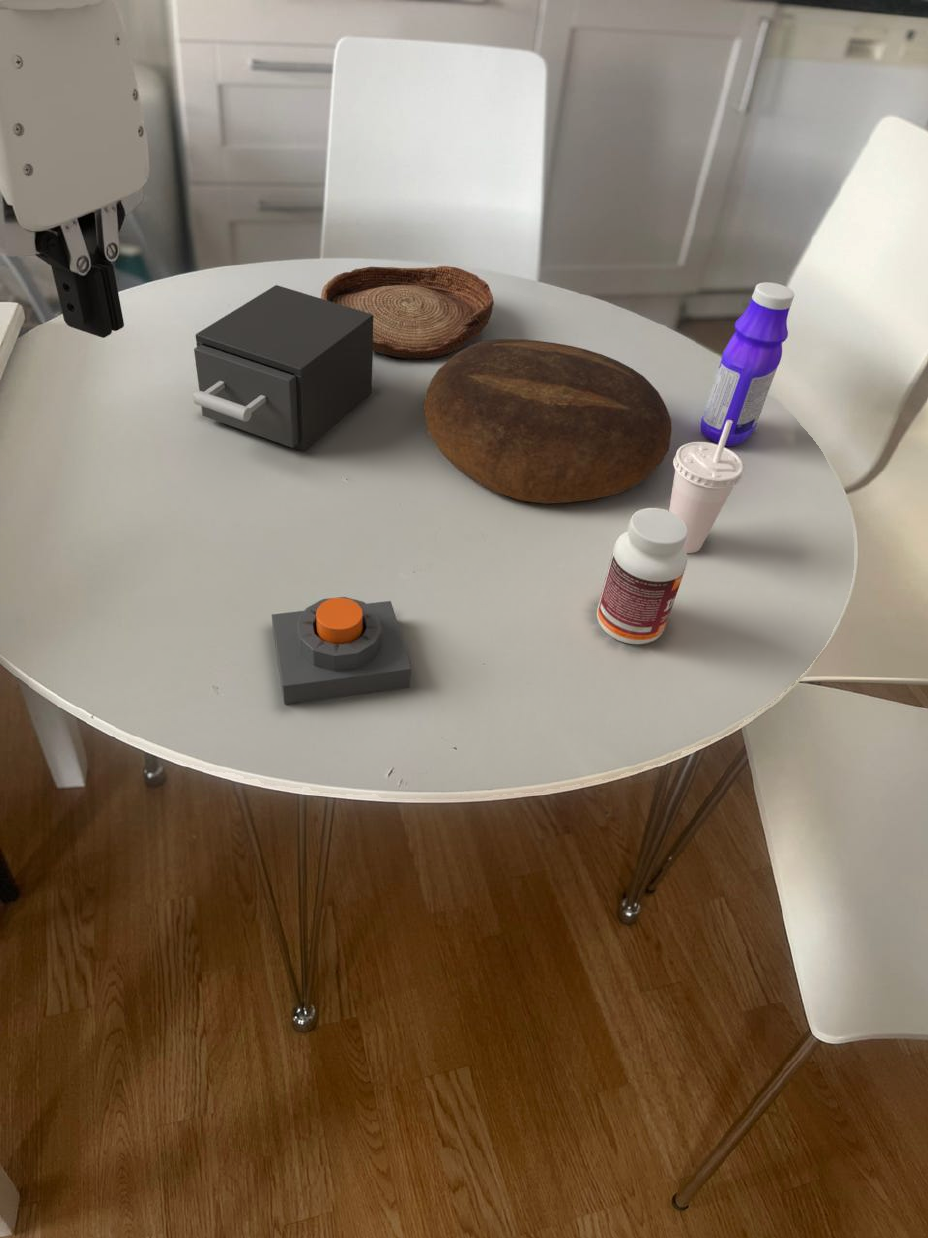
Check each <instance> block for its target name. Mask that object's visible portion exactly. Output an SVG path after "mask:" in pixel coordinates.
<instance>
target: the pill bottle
mask: <svg viewBox="0 0 928 1238" xmlns="http://www.w3.org/2000/svg"><path fill="white" fill-rule="evenodd" d="M687 533H688V528H687V525H686V524H685V522H684V521H683V520H682V519H681V518H680V517H679V516H677V515H676V514H674V513H672V512H670V511H669V510H667V509H663V508H658V507H647V508H641V509H639V510H637V511H636V512H634V513H633V514H632V516H631V517H630V521H629V523H628V526H627V530H626V531H624V532H622V534H621V535H619V537H618V538H617V540H616V541H615V543H614V546H613V549H612V553H611V557H610V560H609V564H608V568H607V572H606V575H605V579H604V583H603V586H602V589H601V594H600V597H599V601H598V604H597V610H596V618H597V621H598V624H599V626H600V627H601V629H602V630H603V631H604V632H605V633H606V634H608V636H610V637H611V638H613V639H614V640H617V641H619V642H622V643H625V644H630V645H644V644H649V643H652V642H654V641H656V640H657V639H658V638H660V637H661V636H662V634H663V633H664V631H665V628H666V626H667V624H668V621H669V618H670V614H671V613H672V612H671V611H672V608H673V606H674V603H675V600H676V597H677V595H678V592H679V589H680V586H681V583H682V580H683V578H684V574H685V571H686V570H687V569H686V568H687V566H688V553H686V550H685V548H684V547H683V546H684V545H685V540H686V537H687Z"/></svg>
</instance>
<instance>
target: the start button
mask: <svg viewBox="0 0 928 1238" xmlns="http://www.w3.org/2000/svg"><path fill="white" fill-rule="evenodd" d="M332 598H333V599H329V598H328V599H329V600H327V601H325V602H323V603H322V604H321V605H320V606H319V607H318V609H317V612H316V621H317V633H318V635H319V636H320V638H321V639H323V640H324V641H326V642H328V643H332V644H336V645H338V644H346V643H351V642H353V641H355V640H357V639H358V638H359V637H360V635H361V633H362V629H363V612H362V609H361V607H360V606H359V605H358V604H357V603H356V602H354V601H353V600H350V599H347V598H348V597H347V598H338V597H332Z"/></svg>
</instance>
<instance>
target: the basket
mask: <svg viewBox="0 0 928 1238" xmlns="http://www.w3.org/2000/svg"><path fill="white" fill-rule="evenodd" d="M320 295H321V296H320V298H321V299H324V300H327V301H330V302H334V303H337V304H340V305H344V306H347V307H350V308H353V309H357V310H360V311H363V312H366V313H370V314H373V352H376V353H379V354H383V355H387V356H392V357H396V358H402V359H410V360H411V359H422V360H427V359H433V358H438V357H441V356H445V355H448V354H450V353H453V352H455V351H457V350H459V349H460V348H462V347H463V346H465V345H466V344H468V343H469V342H471V341H472V340H473V339H475V338H476V337H478V336H479V335H480V334H481V333H482V332H483V331H484V329H485V328H486V327H487V325H488V324H489V322H490V319H491V317H492V314H493V309H494V305H495V304H494V303H495V302H494V301H495V300H494V296H493V293H492V291H491V288H490V286H489V284H488V283H487V282H486V281H485V280H483V279H481V278H480V277H479V276H478V275H476V274H474V273H473V272H470V271H467V270H465V269H462V268H459V267H456V266H449V265H438V266H436V267H430V266H429V267H395V266H393V267H392V266H385V267H384V266H367V267H361V268H355V269H353V270H351V271H345V272H341V273H338V274H337V275H335V276H334V277H333V278H331V279H330V280H328V281H327V282H326V284H325V285H323V287H322V290H321V294H320Z"/></svg>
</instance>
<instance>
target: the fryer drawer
mask: <svg viewBox="0 0 928 1238" xmlns="http://www.w3.org/2000/svg"><path fill="white" fill-rule="evenodd" d="M193 353H194V360H195V361H194V362H195V368H196V376H197V382H198V390H196V391H195V392H194V394H193V396H192V401H193V403H194V404H195V405H197V406H200V407H201V413H202V416H203V417H205V418H208V419H211V420H214V421H217V422H219V423H221V424H225V425H228V426H230V427H233V428H236V429H239V430H242V431H244V432H247V433H250V434H253V435H256V436H258V437H262V438H263V439H267V440H269V441H273V442H275V443H278V444H281V445H283V446H287V447H289V448H292V449H294V448H293V447H294V446H296V445H297V444H298V443H299V435H298V413H297V391H296V376H295V374H293V373H290V372H287V371H284V370H281V369H278V368H275V367H272V366H269V365H266V364H263V363H260V362H257V361H254V360H251V359H248V358H245V357H242V356H239V355H236V354H233V353H230V352H227V351H224V350H221V349H218V348H216V349H213V348H210V347H207V346H204V345H199V346H198V347H197V346H196V347H194V349H193Z"/></svg>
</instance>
